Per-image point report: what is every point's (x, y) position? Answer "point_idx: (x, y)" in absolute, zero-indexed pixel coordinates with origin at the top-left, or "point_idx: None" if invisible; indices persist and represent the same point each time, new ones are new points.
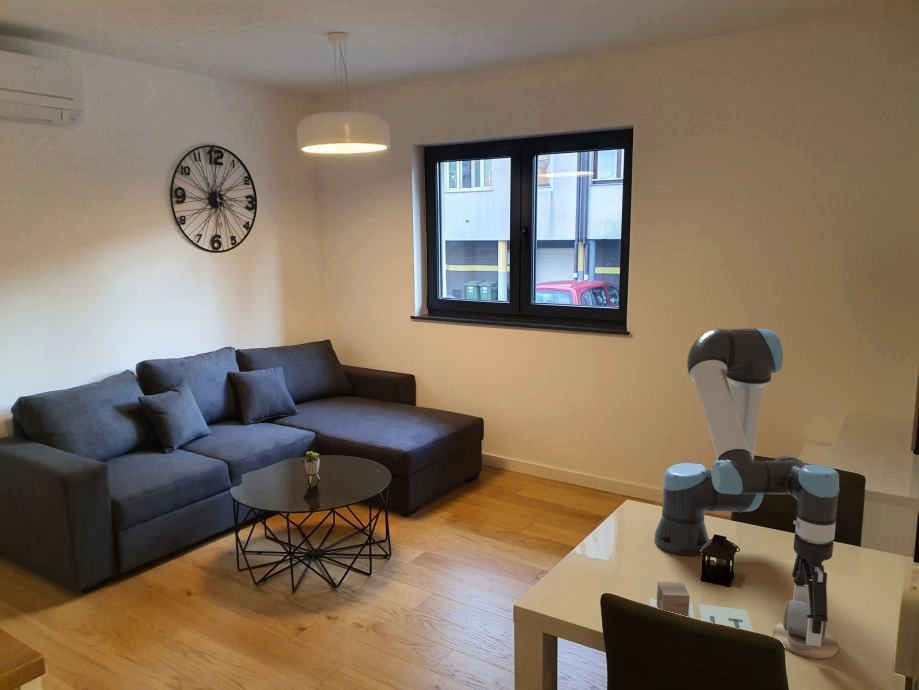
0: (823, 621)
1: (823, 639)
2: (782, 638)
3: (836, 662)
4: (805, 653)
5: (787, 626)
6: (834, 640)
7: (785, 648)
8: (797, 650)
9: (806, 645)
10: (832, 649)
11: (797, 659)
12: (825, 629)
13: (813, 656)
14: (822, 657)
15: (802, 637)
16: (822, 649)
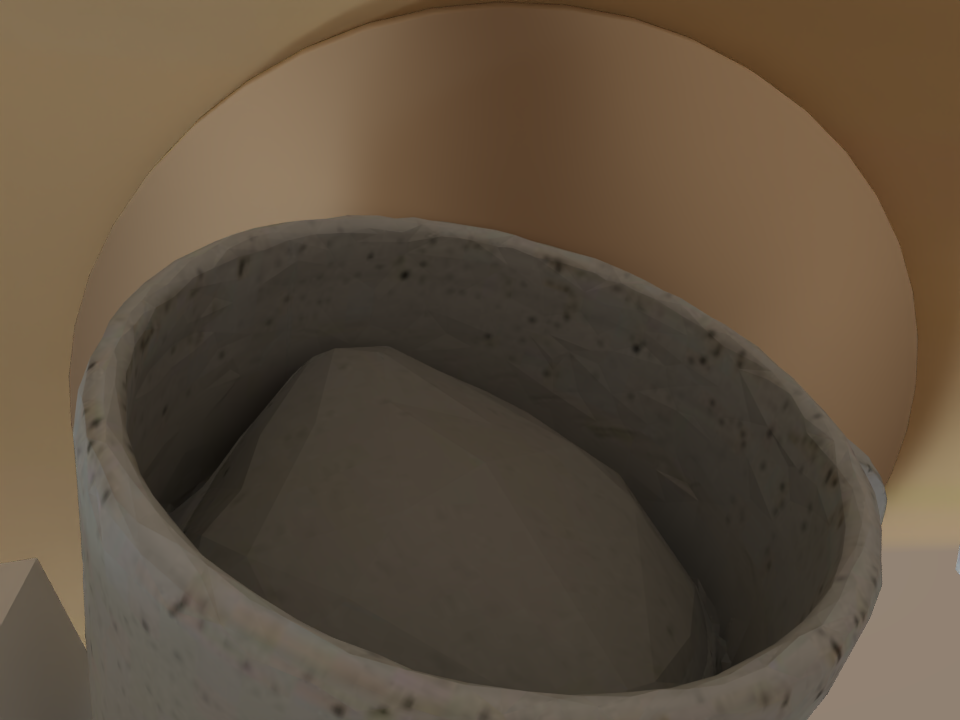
0: (183, 322)
1: (486, 241)
2: None
3: (943, 72)
4: (869, 454)
5: None
6: (387, 53)
7: None
8: None
9: (882, 512)
10: (688, 116)
11: (936, 504)
12: (278, 234)
13: (912, 371)
14: (898, 263)
15: None
16: (728, 259)
